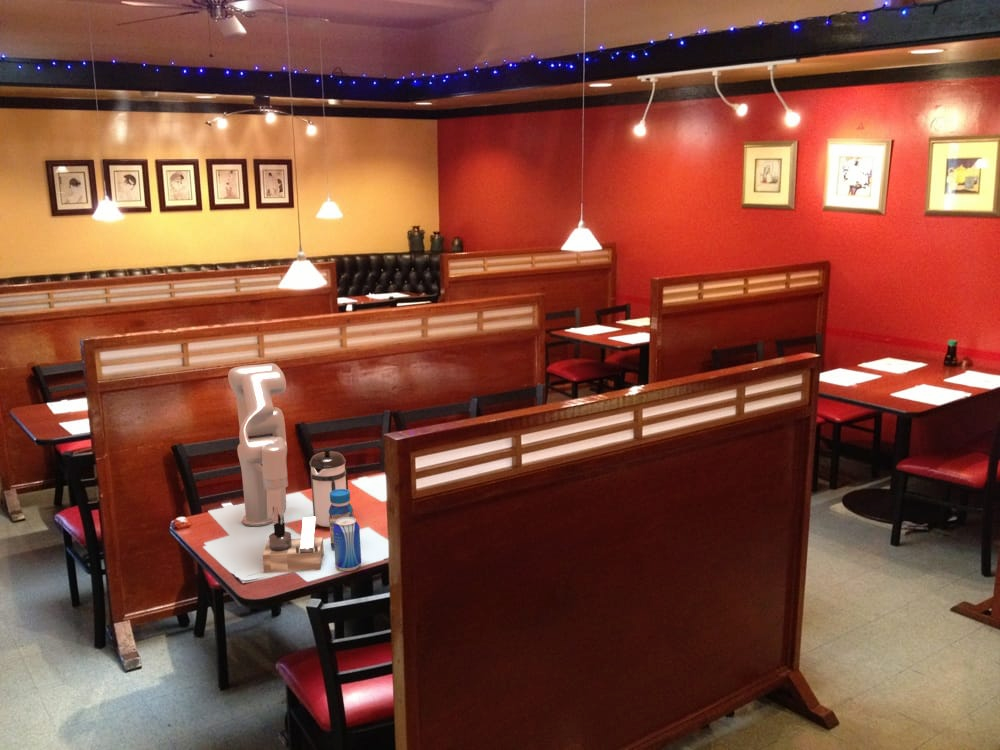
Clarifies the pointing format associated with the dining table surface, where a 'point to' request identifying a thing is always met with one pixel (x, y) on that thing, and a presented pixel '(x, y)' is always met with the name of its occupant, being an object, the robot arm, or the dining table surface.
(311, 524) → the bar
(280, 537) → the pin
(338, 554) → the beer can
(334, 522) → the beverage bottle
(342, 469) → the coffee press
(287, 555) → the board
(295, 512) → the dining table surface
